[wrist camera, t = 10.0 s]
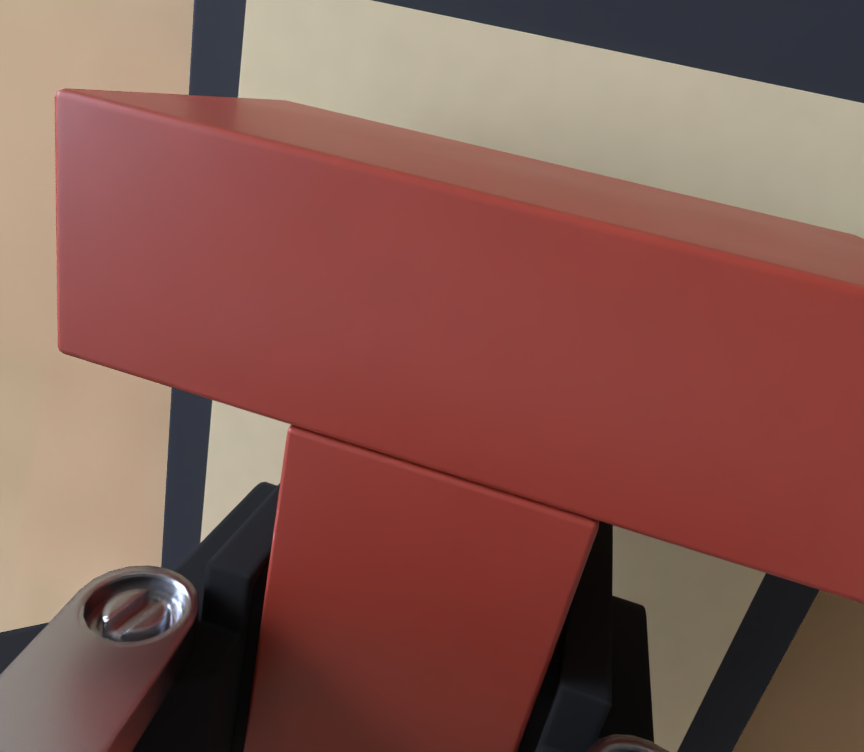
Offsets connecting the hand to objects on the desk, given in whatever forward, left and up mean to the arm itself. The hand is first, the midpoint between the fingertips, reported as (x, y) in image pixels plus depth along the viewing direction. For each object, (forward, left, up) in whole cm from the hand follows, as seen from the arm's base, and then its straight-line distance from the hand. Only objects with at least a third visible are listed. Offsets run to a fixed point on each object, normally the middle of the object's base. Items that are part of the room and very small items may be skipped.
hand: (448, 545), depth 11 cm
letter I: (0, 0, -1) cm, 1 cm away
